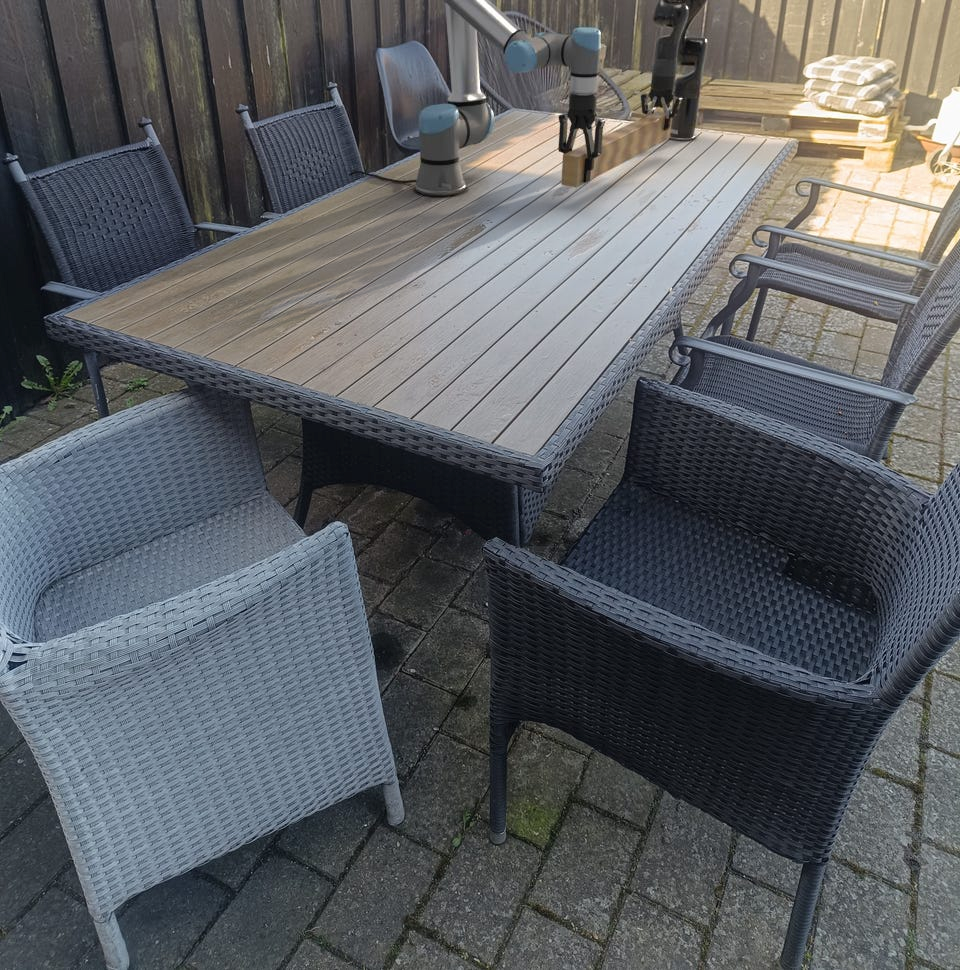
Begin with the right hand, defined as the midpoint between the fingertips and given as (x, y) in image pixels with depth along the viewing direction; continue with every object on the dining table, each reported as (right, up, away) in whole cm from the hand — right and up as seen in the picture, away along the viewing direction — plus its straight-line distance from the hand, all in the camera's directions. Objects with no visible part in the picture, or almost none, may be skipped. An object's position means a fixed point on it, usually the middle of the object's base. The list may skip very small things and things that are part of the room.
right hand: (657, 128), depth 280 cm
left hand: (-31, -30, -37) cm, 57 cm away
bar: (-16, -17, -17) cm, 29 cm away
